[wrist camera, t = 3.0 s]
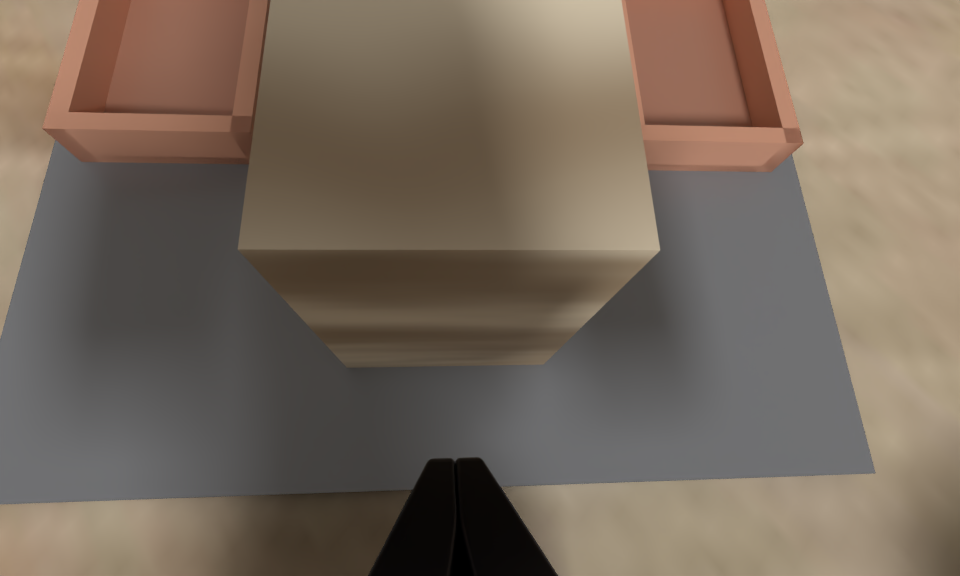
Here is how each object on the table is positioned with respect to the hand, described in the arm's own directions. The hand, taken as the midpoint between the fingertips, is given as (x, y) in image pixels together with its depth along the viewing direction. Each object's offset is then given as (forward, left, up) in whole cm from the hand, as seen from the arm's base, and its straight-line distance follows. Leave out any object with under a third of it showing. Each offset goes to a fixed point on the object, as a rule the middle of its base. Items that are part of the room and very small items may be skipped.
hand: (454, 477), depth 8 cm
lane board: (+12, +8, -8) cm, 16 cm away
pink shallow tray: (+17, +1, -7) cm, 19 cm away
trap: (+7, +16, -7) cm, 19 cm away
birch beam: (+9, +6, -7) cm, 13 cm away
